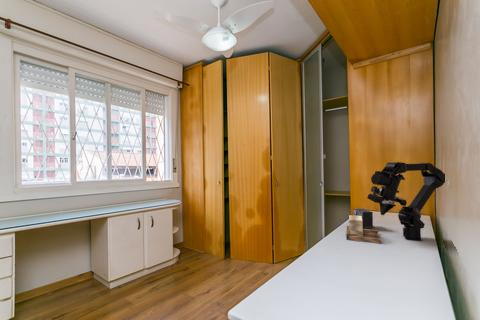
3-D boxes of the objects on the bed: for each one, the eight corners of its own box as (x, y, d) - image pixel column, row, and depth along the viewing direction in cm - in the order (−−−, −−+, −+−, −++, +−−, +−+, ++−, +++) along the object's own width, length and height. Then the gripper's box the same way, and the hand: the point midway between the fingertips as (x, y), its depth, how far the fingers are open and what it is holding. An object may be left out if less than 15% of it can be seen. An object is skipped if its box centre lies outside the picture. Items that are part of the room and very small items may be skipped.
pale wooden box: (362, 232, 125) (361, 215, 125) (363, 238, 115) (362, 220, 115) (349, 231, 127) (349, 215, 127) (349, 237, 117) (349, 219, 118)
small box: (374, 229, 131) (373, 211, 131) (362, 230, 131) (362, 212, 131) (363, 225, 142) (363, 208, 142) (353, 225, 142) (352, 208, 142)
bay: (377, 233, 124) (377, 228, 124) (381, 243, 109) (380, 237, 109) (347, 230, 130) (346, 225, 130) (346, 239, 116) (346, 233, 116)
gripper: (393, 183, 124) (384, 209, 127) (364, 179, 120) (356, 206, 124) (411, 190, 114) (401, 219, 117) (380, 186, 110) (370, 216, 113)
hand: (381, 214), depth 118 cm, fingers closed
